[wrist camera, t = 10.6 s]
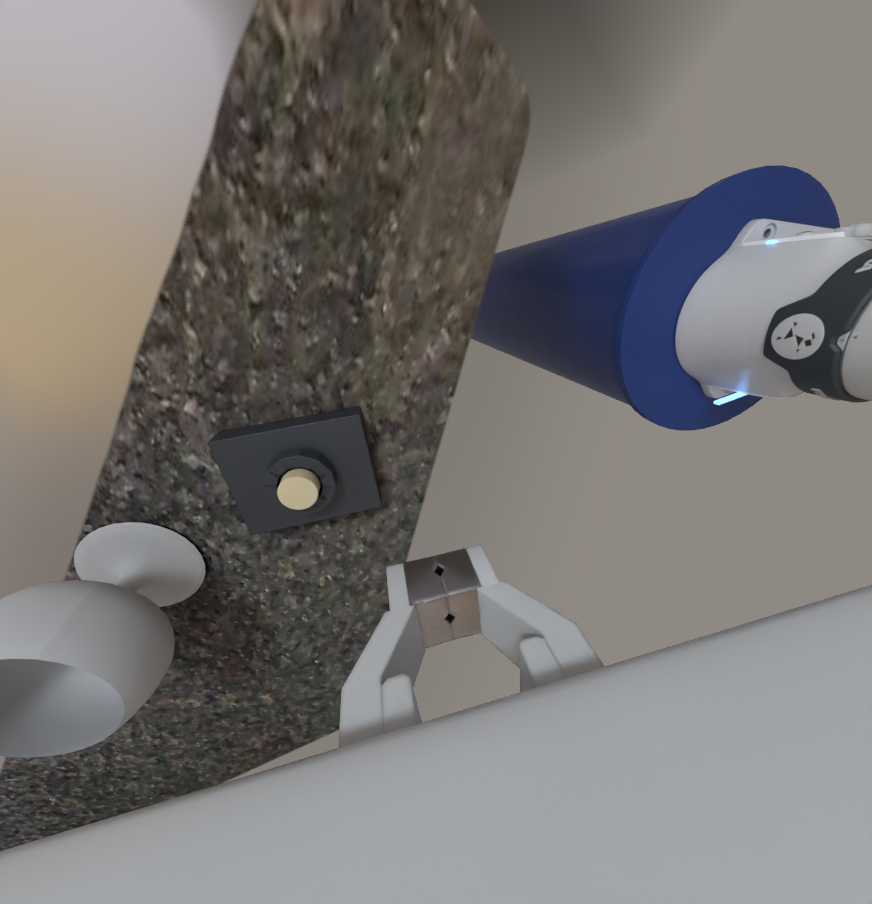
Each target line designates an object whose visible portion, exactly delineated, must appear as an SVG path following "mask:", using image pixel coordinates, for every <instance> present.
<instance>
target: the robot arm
mask: <svg viewBox="0 0 872 904" xmlns="http://www.w3.org/2000/svg"><path fill="white" fill-rule="evenodd" d="M675 348H676V354H677V358H678V361H679V363H680V365H681V367H682V368H683V369H684V371H685V372H686V373H687V374H689V375H690V376H692V377H693V378H695V379H696V380H697V381H698V382H699V383H700V385H701V387H702V390H703V392H704V394H705V395H706V396H707V397H710V398H721V397H723V396H726V395H728V394H731V393H733V392H737V393H734V394H732V395H729V396H726V397H724V398H721V399H718V400H716V401H714V404H716V405H720V404H723V403H726V402H729V401H731V400H734V399H737V398H739V397H742V396H745V395H747V394H749V395H754V396H759V397H765V398H769V399H775V400H786V399H788V398H789V397H793V396H797V395H799V394H801V393H803V392H806V393H810V394H815V395H818V396H821V397H823V398H828V399H833V400H844V401H850V402H867V401H872V223H869V224H868V223H867V224H855V225H848V226H845V227H840V228H835V229H831V228H824V227H818V226H811V225H804V224H798V223H791V222H784V221H778V220H771V219H754V220H751V221H749V222H748V223H747V224H746V225H745V226H744V227H743V229H742V230H741V231H740V233H739V234H738V236H737V237H736V239H735V240H734V242H733V243H732V245H731V246H730V248H729V249H728V250H727V251H726V252H725V253H724V254H723V255H722V256H721V257H720V258H719V259H717V260H716V261H715V262H714V263H713V264H712V265H711V266H710V267H709V268H708V269H707V270H706V271H705V272H704V273H703V274H702V275H701V276H700V278H699V279H698V280H697V282H696V283H695V285H694V286H693V288H692V289H691V291H690V292H689V294H688V296H687V298H686V300H685V302H684V304H683V307H682V309H681V312H680V315H679V318H678V322H677V327H676V334H675ZM403 564H404V565H403ZM386 573H387V583H388V593H389V604H390V611H388V612H385V614H384V615H383V617H382V619H381V621H380V622H379V624H378V626H377V628H376V629H375V631H374V633H373V635H372V637H371V638H370V640H369V642H368V644H367V645H366V647H365V649H364V651H363V652H362V654H361V656H360V658H359V660H358V661H357V663H356V665H355V667H354V668H353V670H352V672H351V674H350V675H349V677H348V679H347V681H346V683H345V684H344V686H343V688H342V692H341V712H340V732H339V748H337V749H334V750H331V751H327V752H324V753H321V754H318V755H314V756H311V757H308V758H305V759H301V760H298V761H295V762H291V763H288V764H285V765H282V766H278V767H275V768H272V769H269V770H265V771H262V772H259V773H255V774H252V775H249V776H246V777H243V778H239V779H236V780H233V781H229V782H226V783H223V784H220V785H216V786H213V787H210V788H206V789H203V790H200V791H197V792H193V793H190V794H187V795H183V796H180V797H177V798H174V799H170V800H167V801H164V802H161V803H157V804H154V805H151V806H147V807H144V808H141V809H138V810H134V811H131V812H128V813H124V814H121V815H118V816H115V817H111V818H108V819H105V820H102V821H98V822H95V823H92V824H88V825H85V826H82V827H79V828H75V829H72V830H69V831H66V832H62V833H59V834H56V835H52V836H49V837H46V838H43V839H39V840H36V841H33V842H30V843H26V844H23V845H20V846H16V847H13V848H10V849H7V850H3V851H0V904H872V585H870V586H867V587H863V588H860V589H857V590H853V591H850V592H847V593H844V594H840V595H837V596H834V597H831V598H828V599H824V600H821V601H818V602H814V603H811V604H808V605H805V606H801V607H798V608H795V609H792V610H788V611H785V612H782V613H778V614H775V615H772V616H769V617H765V618H762V619H759V620H755V621H752V622H749V623H746V624H742V625H739V626H736V627H733V628H729V629H726V630H723V631H720V632H716V633H713V634H710V635H706V636H703V637H700V638H697V639H693V640H691V641H687V642H684V643H680V644H677V645H674V646H671V647H667V648H664V649H661V650H657V651H654V652H651V653H648V654H644V655H641V656H638V657H635V658H631V659H628V660H625V661H621V662H618V663H615V664H612V665H608V666H605V667H604V665H603V664H602V662H601V661H600V659H599V658H598V656H597V654H596V653H595V651H594V650H593V648H592V647H591V645H590V644H589V642H588V641H587V639H586V638H585V636H584V635H583V633H582V632H581V630H580V629H579V627H578V625H577V624H576V623H575V622H573V621H571V620H570V619H568V618H566V617H565V616H563V615H561V614H560V613H558V612H556V611H554V610H553V609H551V608H549V607H548V606H546V605H544V604H543V603H541V602H539V601H537V600H536V599H534V598H533V597H531V596H529V595H528V594H526V593H524V592H523V591H521V590H519V589H517V588H516V587H514V586H512V585H511V584H509V583H507V582H506V581H503V582H500V581H499V579H498V577H497V575H496V573H495V571H494V569H493V567H492V564H491V562H490V560H489V558H488V556H487V554H486V553H485V550H484V548H483V546H482V545H481V544H479V545H474V546H471V547H467V548H465V549H464V548H463V549H460V550H456V551H452V552H448V553H444V554H440V555H436V556H432V557H428V558H423V559H419V560H414V561H410V562H405V563H402V564H397V565H393V566H388V567H387V570H386ZM478 633H482V635H483V636H484V637H485V638H486V639H487V640H489V641H490V642H491V643H492V644H493V645H494V646H495V647H496V648H497V649H498V650H500V651H501V652H502V653H503V654H504V655H505V656H506V657H507V658H508V659H509V660H511V661H512V662H513V663H514V664H515V665H516V666H517V667H518V668H519V669H520V693H517V694H514V695H511V696H508V697H504V698H501V699H498V700H495V701H491V702H488V703H484V704H481V705H478V706H475V707H471V708H468V709H465V710H462V711H458V712H455V713H452V714H448V715H445V716H442V717H439V718H435V719H432V720H429V721H426V722H422V721H421V717H420V713H419V710H418V706H417V702H416V698H415V694H414V691H413V686H414V683H415V680H416V677H417V674H418V671H419V668H420V665H421V662H422V659H423V656H424V653H425V648H428V647H431V646H434V645H438V644H441V643H444V642H448V641H451V640H454V639H458V638H462V637H466V636H470V635H474V634H478Z"/></svg>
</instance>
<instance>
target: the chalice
mask: <svg viewBox="0 0 872 904" xmlns="http://www.w3.org/2000/svg"><path fill="white" fill-rule="evenodd" d="M74 564H75V568H76V572H77V574H78V575H79V577H80V579H81V580H67V581H60V582H52V583H47V584H42V585H37V586H33V587H30V588H27V589H24V590H21V591H18V592H15V593H13V594H11V595H9V596H7V597H4V598H2V599H0V756H8V757H46V756H53V755H60V754H66V753H70V752H74V751H77V750H81V749H84V748H87V747H89V746H91V745H94V744H96V743H99V742H100V741H102V740H103V739H105V738H106V737H108V736H110V735H111V734H113V733H114V732H115V731H117V730H118V729H119V728H120V727H121V726H122V725H123V724H124V723H126V722H127V721H128V720H129V719H130V718H131V717H132V716H133V715H134V714H135V713H136V712H137V711H138V710H139V709H140V708H141V707H142V705H143V704H144V703H145V702H146V701H147V700H148V698H149V697H150V696H151V695H152V693H153V692H154V691H155V689H156V688H157V686H158V685H159V683H160V682H161V681H162V679H163V677H164V675H165V673H166V672H167V670H168V668H169V666H170V664H171V661H172V659H173V653H174V646H175V639H174V632H173V628H172V626H171V624H170V622H169V620H168V618H167V616H166V614H165V613H164V612H163V611H162V610H161V609H160V608H159V607H163V606H169V605H172V604H175V603H178V602H181V601H183V600H185V599H187V598H188V597H190V596H191V595H192V594H194V593H195V592H196V591H197V590H198V589H199V587H200V586H201V584H202V583H203V580H204V577H205V563H204V561H203V558H202V556H201V554H200V553H199V551H198V550H197V549H196V547H195V546H194V545H193V544H192V543H190V542H189V541H188V540H187V539H186V538H184V537H183V536H181V535H179V534H177V533H176V532H174V531H172V530H169V529H166V528H163V527H161V526H157V525H152V524H147V523H135V522H126V523H117V524H111V525H108V526H105V527H101V528H99V529H97V530H95V531H93V532H91V533H90V534H88V535H87V536H86V537H85V538H84V539H83V540H82V541H81V542H80V543H79V545H78V547H77V549H76V551H75V556H74Z"/></svg>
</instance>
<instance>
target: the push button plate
mask: <svg viewBox="0 0 872 904" xmlns="http://www.w3.org/2000/svg"><path fill="white" fill-rule="evenodd" d="M208 445H209V447H210V449H211V451H212V453H213V455H214V458H215V460H216V462H217V464H218V466H219V468H220V470H221V472H222V475H223V477H224V479H225V481H226V483H227V485H228V487H229V489H230V492H231V494H232V496H233V498H234V500H235V502H236V504H237V506H238V509H239V511H240V513H241V515H242V517H243V519H244V521H245V523H246V526H247V528H248V530H249V532H250V534H251V535H256V534H260V533H265V532H269V531H274V530H278V529H283V528H287V527H292V526H296V525H301V524H305V523H310V522H314V521H319V520H323V519H328V518H332V517H337V516H341V515H346V514H350V513H355V512H359V511H364V510H368V509H373V508H377V507H381V506H382V504H381V494H380V490H379V486H378V481H377V477H376V473H375V469H374V465H373V460H372V456H371V452H370V448H369V444H368V439H367V435H366V431H365V427H364V423H363V419H362V414H361V410H360V407H359V406H358V407H352V408H347V409H341V410H336V411H330V412H325V413H320V414H314V415H309V416H303V417H298V418H292V419H287V420H281V421H276V422H271V423H265V424H260V425H254V426H249V427H243V428H238V429H233V430H227V431H222V432H218V433H217V434H216V435H215V436H214V437H213V438H212V439H211V440H210V441H209V442H208ZM293 469H306V470H309V471H311V472H313V473H314V474H315V475H316V476H317V477H318V479H319V482H320V489H319V494H318V498H317V500H316V502H315V503H314V504H313V505H312V506H310V507H309V508H306V509H302V510H295V509H290V508H288V507H286V506H285V505H283V504H282V503H281V502H280V500H279V498H278V495H277V490H278V487H279V484H280V482H281V479H282V477H283V476H284V475H285V474H286V473H287V472H288V471H290V470H293Z"/></svg>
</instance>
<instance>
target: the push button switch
mask: <svg viewBox="0 0 872 904" xmlns="http://www.w3.org/2000/svg"><path fill="white" fill-rule="evenodd" d="M319 489H320V482H319V479H318V477H317V476H316V475H315V474H314V473H313V472H311V471H309V470H306V469H293V470H290V471H288V472H287V473H286V474H285V475H284V476H283V477H282V479H281V482H280V484H279V487H278V490H277V495H278V498H279V500H280V502H281V503H282V504H283V505H285V506H286V507H288V508H290V509H295V510H302V509H306V508H309V507H310V506H312V505H313V504H314V503H315V502H316V500H317V498H318V494H319Z"/></svg>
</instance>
